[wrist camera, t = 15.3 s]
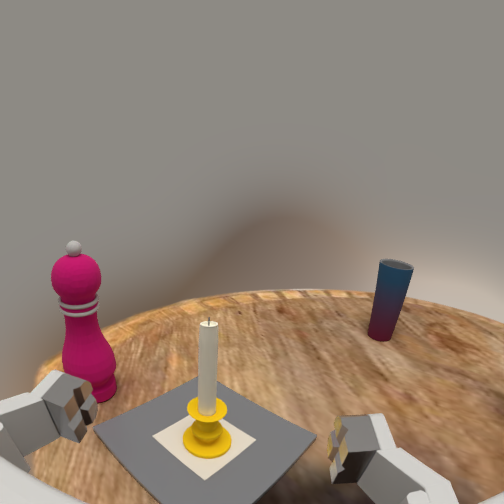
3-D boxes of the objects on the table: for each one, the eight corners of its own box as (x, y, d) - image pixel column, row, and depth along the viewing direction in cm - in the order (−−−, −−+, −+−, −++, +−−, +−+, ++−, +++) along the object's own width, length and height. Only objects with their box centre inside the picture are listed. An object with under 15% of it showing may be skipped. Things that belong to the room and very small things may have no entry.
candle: (179, 427, 29) (173, 304, 25) (224, 422, 31) (231, 302, 27) (187, 461, 24) (181, 335, 21) (237, 454, 26) (251, 330, 22)
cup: (359, 337, 55) (376, 263, 51) (368, 324, 60) (383, 256, 57) (391, 347, 51) (412, 272, 48) (397, 333, 57) (415, 264, 53)
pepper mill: (130, 385, 36) (118, 239, 31) (96, 414, 29) (67, 253, 24) (94, 366, 38) (78, 231, 33) (60, 389, 31) (31, 242, 26)
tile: (204, 377, 40) (204, 372, 40) (315, 439, 30) (317, 434, 30) (94, 431, 26) (92, 426, 26) (207, 542, 16) (207, 540, 16)
